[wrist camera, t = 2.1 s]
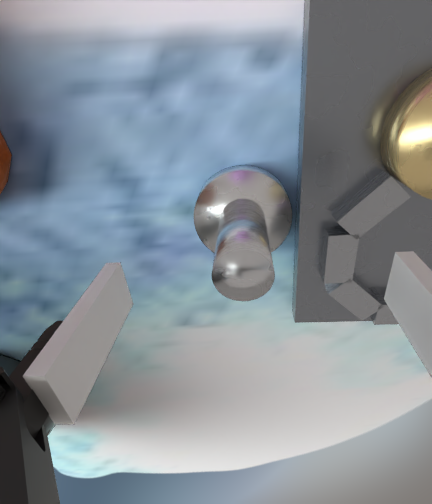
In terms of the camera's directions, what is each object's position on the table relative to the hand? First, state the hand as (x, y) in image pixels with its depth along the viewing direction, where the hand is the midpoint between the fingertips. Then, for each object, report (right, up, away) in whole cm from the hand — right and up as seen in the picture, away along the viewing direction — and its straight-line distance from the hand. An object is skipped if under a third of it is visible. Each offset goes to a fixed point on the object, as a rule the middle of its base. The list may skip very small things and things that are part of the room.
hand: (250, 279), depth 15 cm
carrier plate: (+12, +6, +6) cm, 15 cm away
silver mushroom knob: (0, +4, +8) cm, 9 cm away
